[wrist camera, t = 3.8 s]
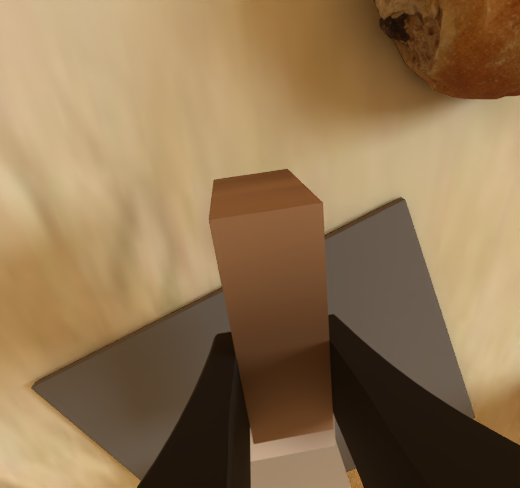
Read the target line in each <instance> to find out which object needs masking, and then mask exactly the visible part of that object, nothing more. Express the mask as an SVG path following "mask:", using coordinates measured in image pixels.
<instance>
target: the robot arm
mask: <svg viewBox="0 0 520 488" xmlns="http://www.w3.org/2000/svg"><path fill="white" fill-rule="evenodd" d="M328 321H329V342H330V363H331V384H332V405H333V414H334V416H335V419H336V421H337V424H338V426H339V428H340V431H341V433H342V435H343V438H344V440H345V443H346V445H347V447H348V450H349V452H350V454H351V457H352V459H353V461H354V464H355V466H356V469H357V471H358V473H359V476H360V478H361V481H362V484H363V486H364V488H520V445H518V444H516V443H514V442H513V441H511V440H509V439H507V438H505V437H503V436H502V435H500V434H498V433H496V432H495V431H493V430H491V429H489V428H487V427H486V426H484V425H482V424H480V423H478V422H477V421H475V420H473V419H471V418H470V417H468V416H466V415H465V414H463V413H461V412H460V411H458V410H456V409H455V408H453V407H452V406H450V405H448V404H447V403H445V402H444V401H442V400H441V399H439V398H438V397H436V396H435V395H433V394H432V393H430V392H429V391H427V390H426V389H424V388H423V387H421V386H420V385H419V384H417V383H416V382H414V381H413V380H412V379H410V378H409V377H408V376H406V375H405V374H404V373H402V372H401V371H400V370H398V369H397V368H396V367H395V366H393V365H392V364H391V363H389V362H388V361H387V360H386V359H385V358H383V357H382V356H381V355H380V354H379V353H377V352H376V351H375V350H374V349H372V348H371V347H370V346H369V345H368V344H367V343H365V342H364V341H363V340H362V339H361V338H360V337H359V336H358V335H356V334H355V333H354V332H353V331H352V330H351V329H350V328H349V327H348V326H347V325H346V324H345V323H343V322H342V321H341V320H340V319H339V318H338V317H337V316H336V315H334V314H331V315H328ZM137 488H251V461H250V423H249V418H248V413H247V408H246V403H245V398H244V393H243V388H242V383H241V378H240V373H239V368H238V363H237V358H236V354H235V349H234V344H233V339H232V334H231V332H225V333H219V334H217V335H216V336H215V337H214V340H213V343H212V346H211V349H210V352H209V355H208V358H207V360H206V363H205V365H204V368H203V370H202V373H201V375H200V377H199V379H198V382H197V384H196V386H195V388H194V391H193V393H192V395H191V397H190V399H189V401H188V403H187V405H186V407H185V408H184V410H183V412H182V414H181V416H180V418H179V420H178V422H177V424H176V426H175V427H174V429H173V431H172V433H171V435H170V436H169V438H168V440H167V441H166V443H165V445H164V446H163V448H162V450H161V451H160V453H159V455H158V456H157V458H156V459H155V461H154V463H153V464H152V466H151V467H150V469H149V470H148V472H147V473H146V475H145V476H144V478H143V479H142V481H141V482H140V484H139V485H138V487H137Z"/></svg>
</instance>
